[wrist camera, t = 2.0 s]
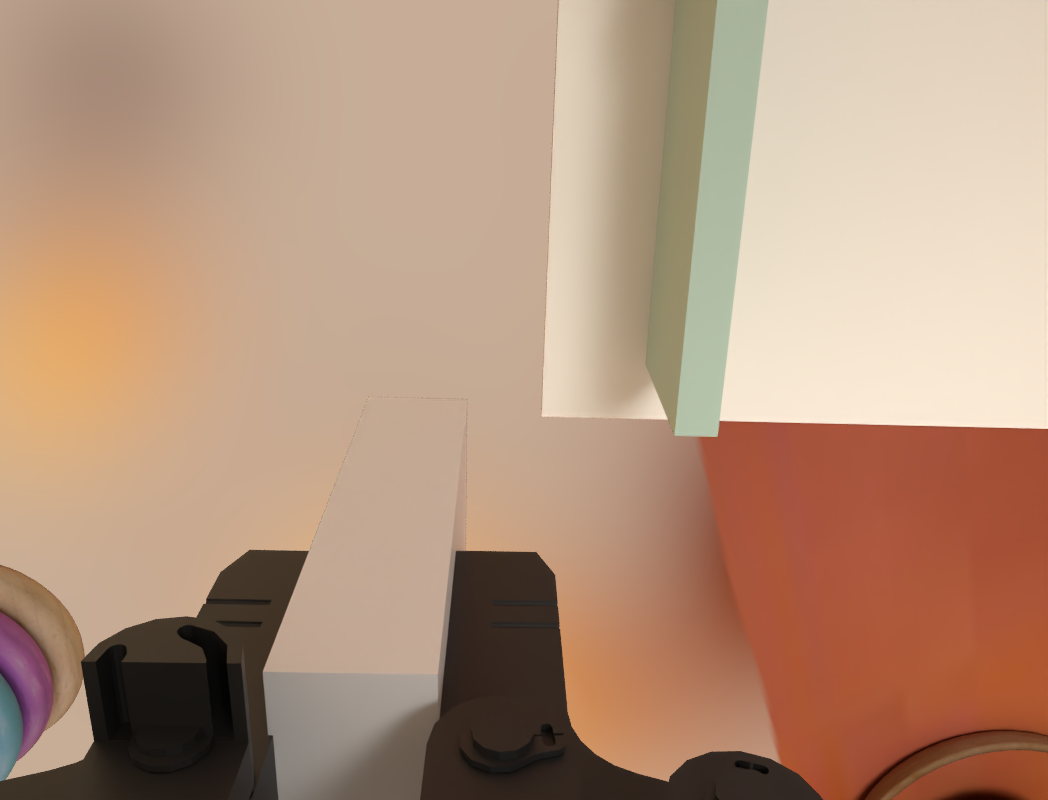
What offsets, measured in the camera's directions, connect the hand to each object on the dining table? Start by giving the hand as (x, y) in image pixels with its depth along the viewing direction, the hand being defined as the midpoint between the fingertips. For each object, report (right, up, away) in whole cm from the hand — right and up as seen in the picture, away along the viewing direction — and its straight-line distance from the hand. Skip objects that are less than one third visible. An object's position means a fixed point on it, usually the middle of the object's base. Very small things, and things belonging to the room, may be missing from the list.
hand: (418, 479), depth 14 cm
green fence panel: (+6, +8, +15) cm, 18 cm away
